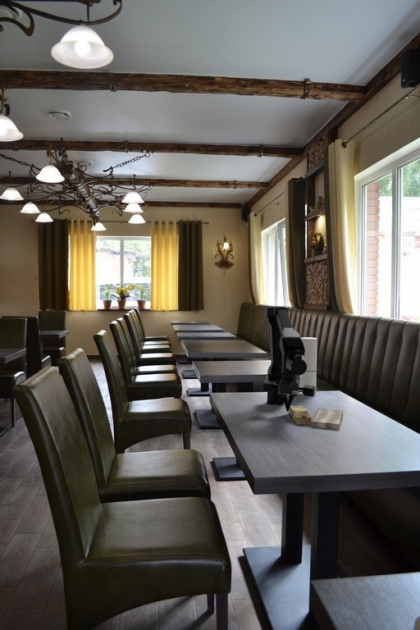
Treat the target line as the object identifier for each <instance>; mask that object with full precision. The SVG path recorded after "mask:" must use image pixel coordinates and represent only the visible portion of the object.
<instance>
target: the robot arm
mask: <svg viewBox="0 0 420 630" xmlns="http://www.w3.org/2000/svg"><path fill="white" fill-rule="evenodd" d="M263 316H264V319H265V324H267V326H268V328H269V342H270V343H269V344H270V345H269V346H270V347H269V348H270V365H269V367H268V368H267V371H266V372H267V373H266V376H265V379H264V382H263V384H262V387H261V389H262V392H266V393H267V396H266V397H267V398H266V399H267V400H266V402H265V403H266V404H268V405H278V406H282V405H284V407H285V409H286V413H287V412H290V407H291V406H292V404H293V401H294V399H295V398H297V397H298V396H299V395H300V392H302V393H303V394H304V396H303V397H315V396H316V395H317V386H316V387H315V386H310V385H305V386H304V387H300V380H298V376H300V375H302V374H304V373H305V372H306V370H307V364H306V362H305V361H304V360H302V356H305V348H304V344H303V342H302V339H301V338H302V337H301V335H300V333H299V332H298V331H296V330H295V329H294V327H293V324H292V322H291V319H290V315H289V313H288V307H287V306H285V305H275V306H274V305H273V306H271V305H267V306H266V308H264V309H263ZM315 394H316V395H315ZM314 395H315V396H314Z"/></svg>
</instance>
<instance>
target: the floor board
mask: <svg viewBox="0 0 420 630" xmlns="http://www.w3.org/2000/svg"><path fill="white" fill-rule="evenodd" d="M343 417H344V410H343V409H332V408H324V407H323V408H321V407H317V409H316V411H315V413H314V415H313V417H312V418H311V424H310V427H313V428H318V429H319V428H321V429H331V430H340V427H341V424H342V419H343Z"/></svg>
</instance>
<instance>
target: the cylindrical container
mask: <svg viewBox="0 0 420 630" xmlns="http://www.w3.org/2000/svg"><path fill="white" fill-rule="evenodd" d="M300 338H301V339H302V342H303V344H304V348H305V356H302V360H304V361H305V362H306V364H307V370H306V372H305V373H304V374H302V375H299V387H304V386H305V385H310V386H315V387H316V388H317V366H318V365H317V364H318V363H317V361H318V337H309V336H307V337H300ZM302 395H304V394H303V393H301V395H300V396H302ZM315 396H317V393H316V394H315Z"/></svg>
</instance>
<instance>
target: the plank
mask: <svg viewBox="0 0 420 630" xmlns="http://www.w3.org/2000/svg"><path fill="white" fill-rule="evenodd" d="M289 413H290V416H291V417H292V419H293V421H294V422H295V424H296V425H311V421H312V416H311V415H310V413H309V412H308V411H307V409H306V408H305V407H304V406H302V405H301V406H300V405H298V406H297V405H296V406H295V405H294V406H293V405H291V407H290V409H289Z"/></svg>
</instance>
